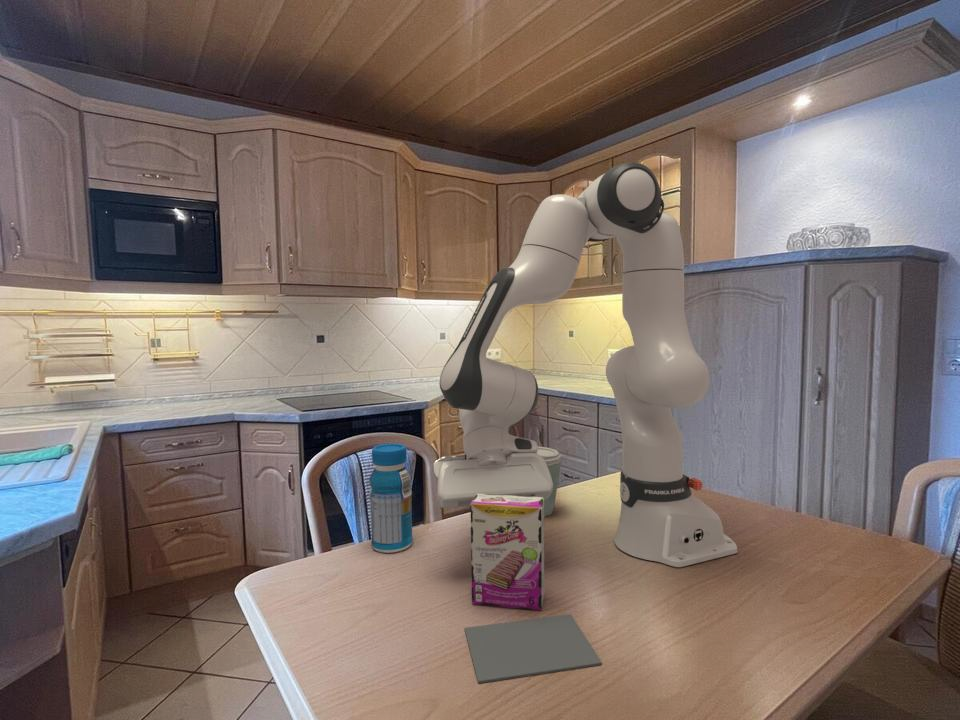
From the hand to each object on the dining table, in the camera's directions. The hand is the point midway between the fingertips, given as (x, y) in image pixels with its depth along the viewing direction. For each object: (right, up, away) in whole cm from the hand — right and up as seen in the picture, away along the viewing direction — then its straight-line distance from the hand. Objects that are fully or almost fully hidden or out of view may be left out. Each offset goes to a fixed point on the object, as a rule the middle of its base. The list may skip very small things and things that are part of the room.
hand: (501, 526), depth 81 cm
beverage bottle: (-21, -10, +18) cm, 29 cm away
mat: (+3, -11, -15) cm, 19 cm away
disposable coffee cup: (+10, -8, +34) cm, 36 cm away
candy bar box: (+1, -11, -4) cm, 11 cm away
